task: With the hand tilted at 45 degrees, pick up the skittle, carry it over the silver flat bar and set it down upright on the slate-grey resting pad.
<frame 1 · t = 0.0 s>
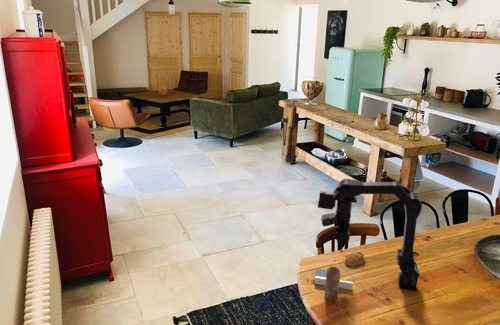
hand: (340, 244, 166), 15 cm above the table, tool pointing down, fingers open, 9 cm apart
pastry: (354, 262, 180), on the table
resting pad: (323, 275, 170), on the table
skittle: (331, 297, 157), on the table
silver flat bar: (333, 286, 163), on the table
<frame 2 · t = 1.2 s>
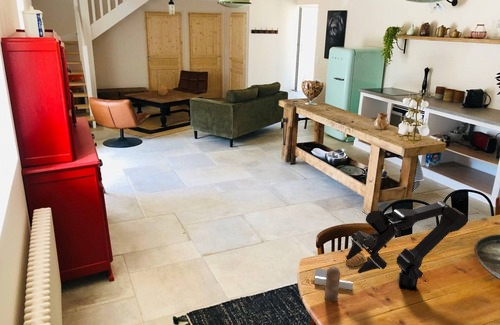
hand: (352, 265, 154), 13 cm above the table, tool tilted 45°, fingers open, 9 cm apart
nothing on the table moved.
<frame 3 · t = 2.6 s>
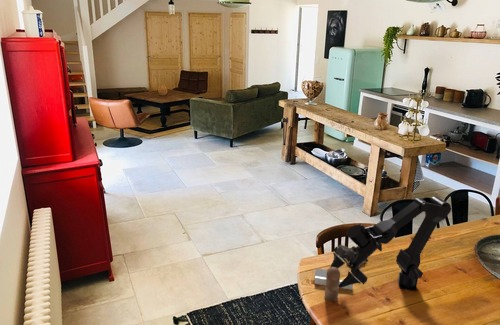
hand: (333, 279, 154), 8 cm above the table, tool tilted 45°, fingers open, 9 cm apart
nothing on the table moved.
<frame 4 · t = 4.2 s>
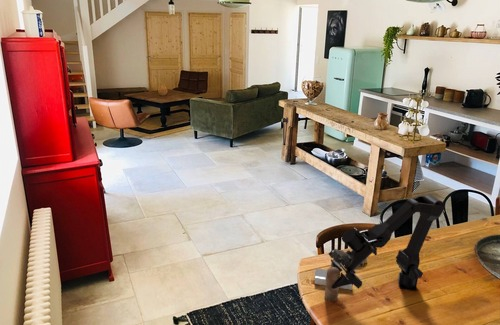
hand: (329, 283, 154), 7 cm above the table, tool tilted 45°, fingers closed on skittle, 5 cm apart
skittle: (330, 297, 157), on the table, touching gripper
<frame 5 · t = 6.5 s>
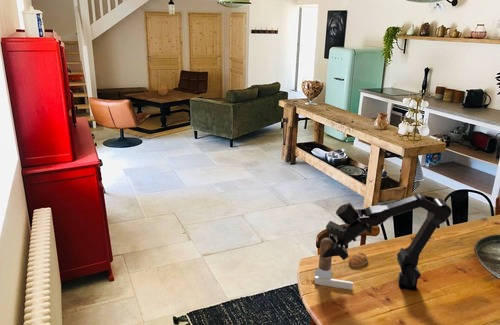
hand: (322, 253, 164), 12 cm above the table, tool tilted 45°, fingers closed on skittle, 5 cm apart
skittle: (324, 267, 166), point 6 cm above the table, touching gripper
when the fingers open (8 cm above the table, at t = 8.6 s): skittle drops 1 cm, resting on resting pad.
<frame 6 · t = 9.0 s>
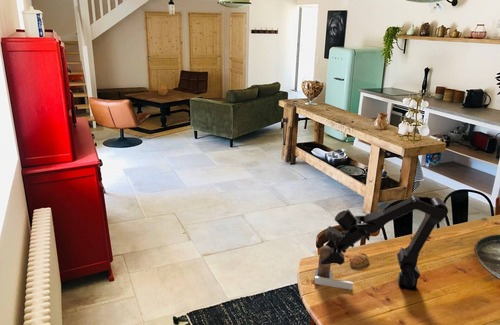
hand: (321, 257, 168), 9 cm above the table, tool tilted 45°, fingers open, 9 cm apart
skittle: (323, 274, 170), resting on resting pad
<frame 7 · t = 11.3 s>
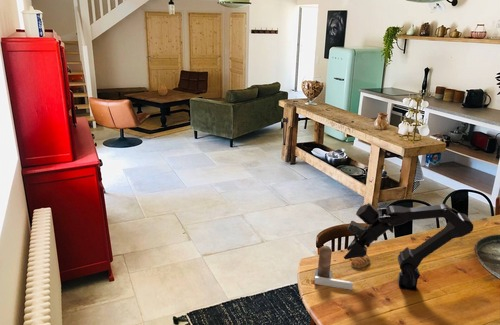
hand: (346, 253, 165), 11 cm above the table, tool tilted 40°, fingers open, 9 cm apart
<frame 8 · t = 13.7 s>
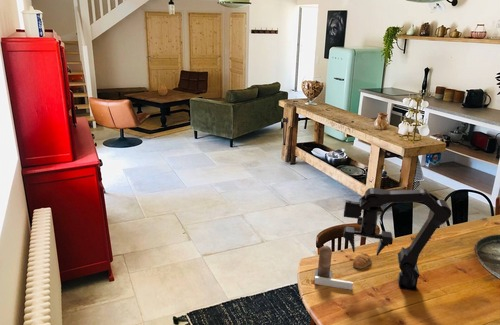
hand: (365, 253, 165), 12 cm above the table, tool pointing down, fingers open, 9 cm apart
at the end: skittle 0.1 cm off-centre on the resting pad, point 0.4 cm above the resting pad's base; skittle tilted 0°; the gripper is holding nothing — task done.
